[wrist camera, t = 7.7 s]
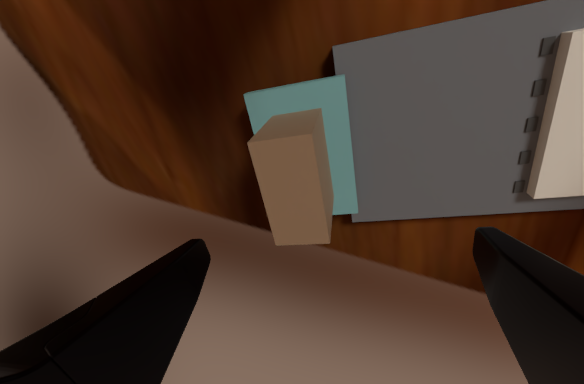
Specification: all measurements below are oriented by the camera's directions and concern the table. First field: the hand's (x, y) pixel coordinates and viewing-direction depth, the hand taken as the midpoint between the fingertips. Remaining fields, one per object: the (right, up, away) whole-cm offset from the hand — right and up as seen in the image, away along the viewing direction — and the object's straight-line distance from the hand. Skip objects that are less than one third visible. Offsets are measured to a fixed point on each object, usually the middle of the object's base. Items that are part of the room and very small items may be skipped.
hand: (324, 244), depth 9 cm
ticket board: (+13, +6, +7) cm, 16 cm away
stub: (0, +4, +9) cm, 10 cm away
